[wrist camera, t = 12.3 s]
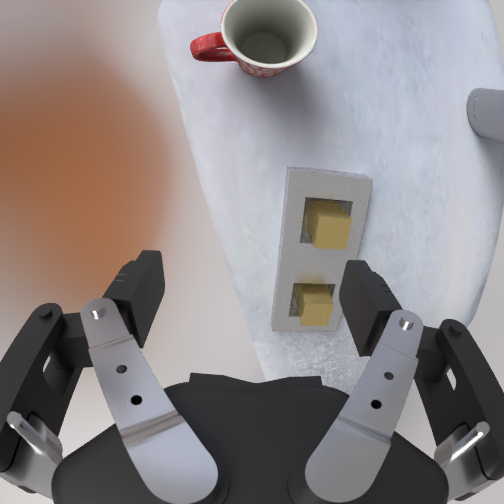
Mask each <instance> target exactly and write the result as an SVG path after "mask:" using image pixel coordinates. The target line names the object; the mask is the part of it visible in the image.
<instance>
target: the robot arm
mask: <svg viewBox="0 0 504 504" xmlns="http://www.w3.org/2000/svg"><path fill="white" fill-rule="evenodd" d="M467 113H468V118H469V122H470V124H471V126H472V128H473V130H474V131H475V132H476V133H477V134H478V135H479V136H481V137H484V138H488V139H491V140H494V141H497V142H501V143H504V91H503V90H494V89H482V88H478V89H475V90H473V91H472V92H471V94H470V96H469V98H468V103H467ZM164 290H165V279H164V271H163V264H162V255H161V252H160V251H155V250H143V251H142V252H141V254H140V255H139V256H138V258H137V259H136V261H130V262H129V263H127V264H126V265H124V266H123V267H122V268H121V270H120V271H119V273H118V275H117V276H116V277H115V279H114V281H113V282H112V283H111V285H110V286H109V288H108V289H107V291H106V292H105V294H104V295H103V297H102V298H97V299H93V300H91V301H89V302H87V303H86V304H85V305H84V306H83V307H82V309H81V312H79V313H71V314H63V312H62V309H61V307H60V306H59V305H58V304H56V303H46V304H43V305H41V306H39V307H38V308H36V309H35V310H34V311H33V312H32V314H31V315H30V317H29V318H28V320H27V321H26V323H25V324H24V326H23V327H22V329H21V330H20V332H19V333H18V334H17V336H16V338H15V339H14V341H13V342H12V344H11V345H10V347H9V349H8V350H7V352H6V354H5V355H4V357H3V359H2V360H1V362H0V477H1V478H3V479H4V480H6V481H8V482H9V483H11V484H13V485H16V486H17V487H19V488H21V489H23V490H24V491H26V492H28V493H39V494H41V495H43V496H45V497H48V498H50V499H52V500H53V501H54V504H447V502H449V501H451V500H458V501H462V500H465V499H467V498H469V497H471V496H473V495H475V494H476V493H478V492H480V491H482V490H483V489H485V488H487V487H488V486H490V485H491V484H493V483H495V482H496V481H498V480H499V479H501V478H502V477H504V393H503V390H502V388H501V387H500V385H499V383H498V381H497V379H496V377H495V375H494V373H493V372H492V370H491V368H490V366H489V364H488V362H487V361H486V359H485V357H484V356H483V354H482V352H481V350H480V349H479V347H478V346H477V344H476V342H475V341H474V339H473V337H472V336H471V334H470V333H469V331H468V330H467V328H466V327H465V326H464V325H463V324H462V323H460V322H458V321H456V320H453V319H446V320H444V321H443V322H442V323H441V325H440V327H439V329H437V328H432V327H426V326H423V322H422V320H421V319H420V318H419V317H418V316H417V315H416V314H414V313H412V312H410V311H407V310H403V309H402V307H401V306H400V304H399V302H398V301H397V299H396V298H395V296H394V294H393V293H391V290H390V288H389V287H388V285H387V284H386V282H385V280H384V279H383V278H382V277H381V276H380V275H378V274H377V273H376V272H372V271H371V269H370V267H369V266H368V264H367V263H366V261H364V260H348V261H347V263H346V266H345V270H344V274H343V278H342V282H341V286H340V290H339V302H340V305H341V307H342V310H343V313H344V315H345V318H346V321H347V323H348V326H349V329H350V331H351V334H352V337H353V339H354V342H355V345H356V348H357V351H358V353H359V356H360V357H361V356H370V357H371V358H370V360H369V362H368V364H367V366H366V368H365V370H364V371H363V373H362V375H361V377H360V379H359V381H358V383H357V384H356V386H355V388H354V390H353V391H352V393H351V395H350V396H349V395H348V394H346V393H344V392H342V391H340V390H338V389H335V388H332V387H328V386H324V385H322V381H321V376H308V377H287V378H282V379H278V380H273V381H268V382H263V383H252V382H247V381H243V380H239V379H235V378H231V377H228V376H224V375H212V374H199V373H191V374H190V380H189V382H184V383H179V384H175V385H172V386H169V387H167V388H164V389H162V387H161V386H160V384H159V382H158V380H157V379H156V377H155V375H154V373H153V372H152V370H151V368H150V366H149V365H148V363H147V361H146V359H145V357H144V356H143V354H142V352H141V350H140V348H143V346H144V343H145V341H146V338H147V336H148V333H149V331H150V328H151V325H152V323H153V320H154V318H155V315H156V313H157V310H158V308H159V305H160V303H161V300H162V298H163V295H164ZM48 356H49V357H50V358H51V359H50V361H49V363H48V365H47V367H46V369H45V371H44V373H43V367H44V364H45V362H46V360H47V358H48ZM84 367H94V369H95V372H96V375H97V378H98V381H99V383H100V386H101V389H102V392H103V394H104V397H105V399H106V402H107V404H108V407H109V409H110V411H111V414H112V416H113V419H114V421H115V424H113V425H112V426H110V427H109V428H108V429H106V430H105V431H103V432H102V433H100V434H99V435H97V436H96V437H95V438H93V439H92V440H90V441H89V442H87V443H86V444H84V445H83V446H81V447H80V448H78V449H77V450H76V451H74V452H72V453H71V454H69V455H68V456H67V457H65V458H64V459H63V456H62V452H63V450H62V444H61V442H60V440H59V438H58V435H59V432H60V429H61V426H62V423H63V420H64V417H65V414H66V411H67V409H68V406H69V403H70V400H71V398H72V395H73V392H74V390H75V387H76V384H77V382H78V379H79V377H80V374H81V372H82V369H83V368H84ZM450 368H451V370H452V372H453V374H454V376H455V378H456V387H455V390H453V388H452V385H451V383H450V381H449V379H448V377H447V372H448V370H449V369H450ZM413 378H414V380H415V382H416V385H417V388H418V391H419V394H420V396H421V399H422V402H423V405H424V407H425V411H426V414H427V417H428V420H429V423H430V426H431V429H432V432H433V436H434V439H435V442H436V446H437V448H436V450H435V454H434V460H433V459H432V458H430V457H429V456H428V455H426V454H425V453H424V452H422V451H421V450H419V449H418V448H417V447H415V446H414V445H413V444H411V443H410V442H409V441H407V440H406V439H405V438H404V437H402V436H401V435H400V434H398V433H397V432H395V431H394V430H395V427H396V425H397V422H398V420H399V417H400V415H401V412H402V409H403V407H404V404H405V401H406V398H407V396H408V393H409V390H410V387H411V384H412V381H413Z"/></svg>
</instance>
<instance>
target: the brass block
mask: <svg viewBox="0 0 504 504" xmlns="http://www.w3.org/2000/svg"><path fill="white" fill-rule="evenodd" d="M296 305H297V310H298V315H299V320H300V325H301V326H328V323H329V320H330V316H331V313H332V309H333V305H334V304H333V301H332V298H331V295H330V293H329V290H328V287H327V285H326V284H314V283H298V288H297V294H296Z"/></svg>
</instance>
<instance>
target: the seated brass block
mask: <svg viewBox="0 0 504 504" xmlns="http://www.w3.org/2000/svg"><path fill="white" fill-rule="evenodd" d="M351 222H352V218H351V217H350V216H349V215H348V214H347V212H346V211H345V210H344V209H343V208H342V206H341V205H340V204H339V203H338V202H331V201H320V200H309V206H308V214H307V221H306V229H307V232H308V234H309V237H310V239H311V241H312V244H313V246H314V248H321V249H340V250H346V247H347V242H348V237H349V232H350V227H351Z"/></svg>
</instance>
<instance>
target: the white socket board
mask: <svg viewBox="0 0 504 504" xmlns="http://www.w3.org/2000/svg"><path fill="white" fill-rule="evenodd" d="M372 181H373V180H372V179H371V178H369V177H368V176H366V175H362V174H354V173H347V172H339V171H330V170H321V169H311V168H300V167H288V166H287V175H286V186H285V197H284V208H283V218H282V228H281V237H280V247H279V256H278V265H277V274H276V283H275V291H274V300H273V308H272V316H271V326H272V331H336V330H337V327H338V324H339V320H340V317H341V314H342V307H341V305H340V302H339V290H340V286H341V282H342V278H343V274H344V270H345V266H346V263H347V261H348V260H356V259H357V255H358V250H359V246H360V242H361V237H362V233H363V228H364V224H365V219H366V214H367V209H368V204H369V198H370V193H371V187H372ZM306 197H311V198H323V199H334V200H344V201H346V203H345V209H344V210H345V211H346V212H347V214H348V215H349V216H350V217H351V218H352V222H351V227H350V232H349V237H348V242H347V247H346V250H340V249H321V248H314V246H313V244H312V241H311V239H310V237H309V235H301V230H302V222H303V214H304V206H305V198H306ZM294 283H314V284H329V288H328V290H329V293H330V295H331V298H332V301H333V304H334V305H333V309H332V313H331V316H330V320H329V323H328V326H301V325H300V320H299V315H298V310H297V306H290V304H291V298H292V291H293V285H294Z"/></svg>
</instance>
